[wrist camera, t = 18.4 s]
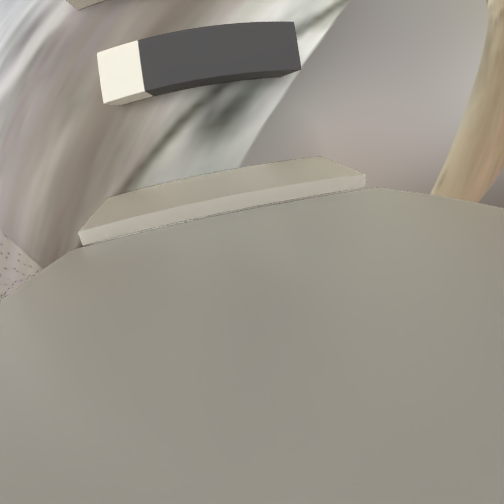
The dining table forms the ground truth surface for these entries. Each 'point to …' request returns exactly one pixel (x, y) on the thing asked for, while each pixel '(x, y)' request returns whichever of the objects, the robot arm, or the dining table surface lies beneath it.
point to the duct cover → (264, 360)
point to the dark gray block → (197, 59)
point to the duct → (215, 191)
